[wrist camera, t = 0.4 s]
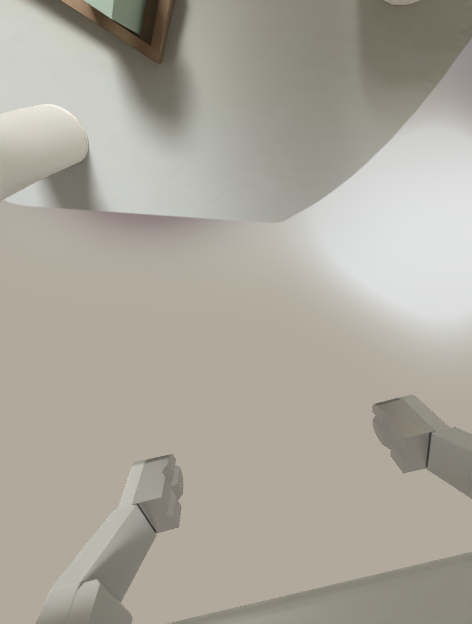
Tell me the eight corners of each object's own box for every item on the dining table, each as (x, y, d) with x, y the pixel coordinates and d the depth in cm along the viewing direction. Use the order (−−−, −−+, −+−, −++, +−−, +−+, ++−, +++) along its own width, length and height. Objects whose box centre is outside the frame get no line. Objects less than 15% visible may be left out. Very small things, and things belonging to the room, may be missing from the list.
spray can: (68, 187, 48) (-17, 254, 30) (3, 139, 42) (-153, 188, 24) (96, 136, 43) (13, 180, 25) (26, 74, 37) (-150, 73, 19)
